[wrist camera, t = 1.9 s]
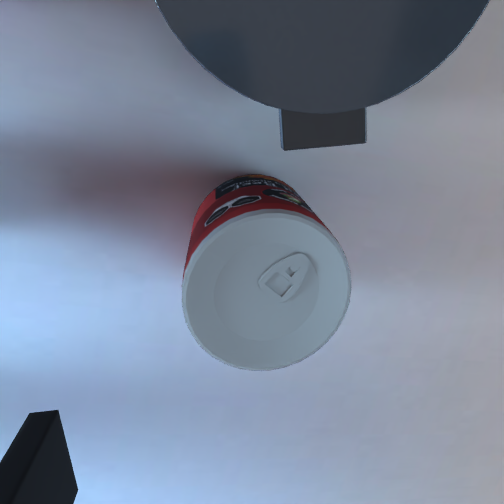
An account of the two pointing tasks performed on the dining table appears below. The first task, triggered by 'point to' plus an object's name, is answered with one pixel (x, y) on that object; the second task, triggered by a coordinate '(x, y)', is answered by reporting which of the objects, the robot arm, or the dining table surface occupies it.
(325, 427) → the dining table surface
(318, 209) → the dining table surface
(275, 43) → the pot
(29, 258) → the dining table surface
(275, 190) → the canned food
